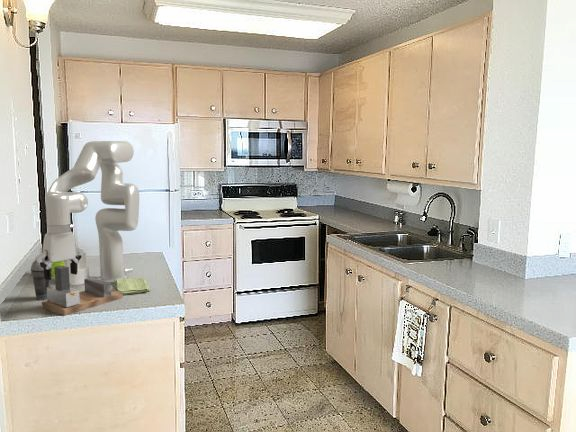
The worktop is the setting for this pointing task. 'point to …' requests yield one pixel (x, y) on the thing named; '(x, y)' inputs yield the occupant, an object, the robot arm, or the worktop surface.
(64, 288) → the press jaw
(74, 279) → the base with upright slab
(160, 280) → the worktop surface
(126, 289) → the washcloth
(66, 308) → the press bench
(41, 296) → the beverage cup
